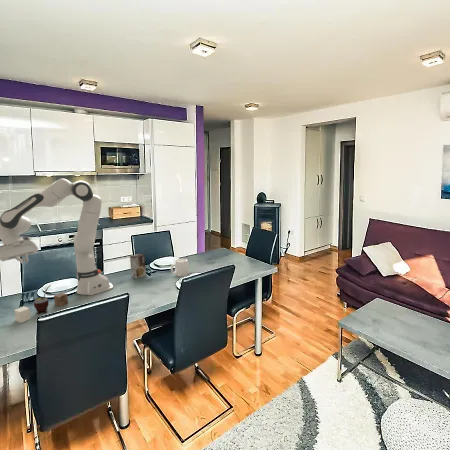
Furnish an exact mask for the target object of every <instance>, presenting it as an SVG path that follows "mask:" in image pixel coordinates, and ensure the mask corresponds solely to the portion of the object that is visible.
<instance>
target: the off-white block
mask: <svg viewBox="0 0 450 450" xmlns="http://www.w3.org/2000/svg"><path fill="white" fill-rule="evenodd" d="M14 317H15V321H16V322H18V323H24V322H26V321H28V320H31V311H30V307H27V306H22V307H19V308H15V309H14Z"/></svg>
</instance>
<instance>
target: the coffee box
mask: <svg viewBox="0 0 450 450" xmlns="http://www.w3.org/2000/svg"><path fill="white" fill-rule="evenodd" d="M129 260H130V261H129V262H130V273H131V274H130V275H131V278H134V279H140V278H142V277H145V276H147V270H146V269H147V266H146V255H145V254H142V253H137V254H133V255H130V256H129Z"/></svg>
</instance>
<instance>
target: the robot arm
mask: <svg viewBox="0 0 450 450" xmlns="http://www.w3.org/2000/svg"><path fill="white" fill-rule="evenodd" d="M70 195H72V196H74V197H75V198H77V199H79V200H81V201H82V208H81V210H80V216H79V219H78V226H77V232H76V233H75V234H74V236H73V247H74V254H75V255H74V256H75V261H76V279H77V285H76V286H77V288H76V294H78V295H86V296H87V295H88V296H93V295H97V294H100V293H103V292H106V291H109V290H112V289H114V285H113V283H112V282H110V281H109V278H108V277H107V276H105V275H103V274H101V273H102V270H101V269H98V268H97V267H96V259H95V252H94V251H95V250H94V246H95V241H96V236H97V230H98V223H99V219H100V215H101V210H102V198H101V197H100V196H99V195H97V194H94V193H93V190H92V187H91V185H90V183H88V181H87V182H86V181H84V180H78V181H74V182H72V181H70V180H68V179H66V178H62V177H61V178H60V179H59V178H58V179H57V180H56V181H54V182H53V183H51V184H50V185H48V186H47V187H46V188H44V189H43V190H41V191H40V192H38V193H35V194H33V195H31V196H29V197H27V198H25V200H23V201H22V202H20V203H19V204H17V205H16V206H14V207H13V208H10V209H7V210H5V211H4V212H2V214H1V215H0V240H1V243H2V245H0V261H1V262H6V261H9V260H16V261H18V262H19V263H20V264H24V263H27V262H28V263H29V258H28V257H29V256H31V255H34V254H38V251H39V247H38V245H37V244H36V243H35V242H34V241H33V240H32V239H31V237H30V236H22V235H23V234H24V233H27V232H28V231H29V230H30V229H31V228H32V221H31V219H30V218H28V217H26V216H25V215H26V214H27V213H29V212H31V211H32V210H33V209H35V208H38V207H44V208H45V207H46V208H53V207H55V206H58V205H59V204H60V203H61V202H62V201H63V200H65V199H66V198H67V197H68V196H70ZM20 235H21V236H20ZM23 257H24V258H23Z"/></svg>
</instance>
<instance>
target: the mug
mask: <svg viewBox="0 0 450 450" xmlns="http://www.w3.org/2000/svg"><path fill="white" fill-rule="evenodd" d="M189 265H190V264H189V259H188V258H176V259H175V260H174V263H171V266H170V271H171V273H172V274H173V275H174V274H175V277H186V276H188V275H190V270H189Z"/></svg>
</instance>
